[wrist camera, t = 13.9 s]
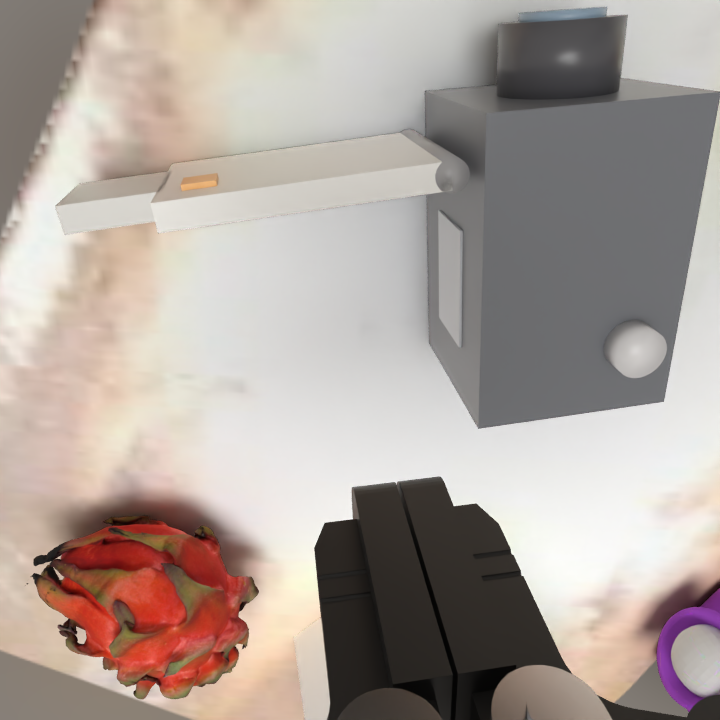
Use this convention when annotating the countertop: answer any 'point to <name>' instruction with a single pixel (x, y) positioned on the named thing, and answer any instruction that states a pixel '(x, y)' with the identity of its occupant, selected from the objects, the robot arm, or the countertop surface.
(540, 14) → the camera body
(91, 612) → the dragon fruit
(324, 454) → the countertop surface
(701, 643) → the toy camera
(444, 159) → the side door
